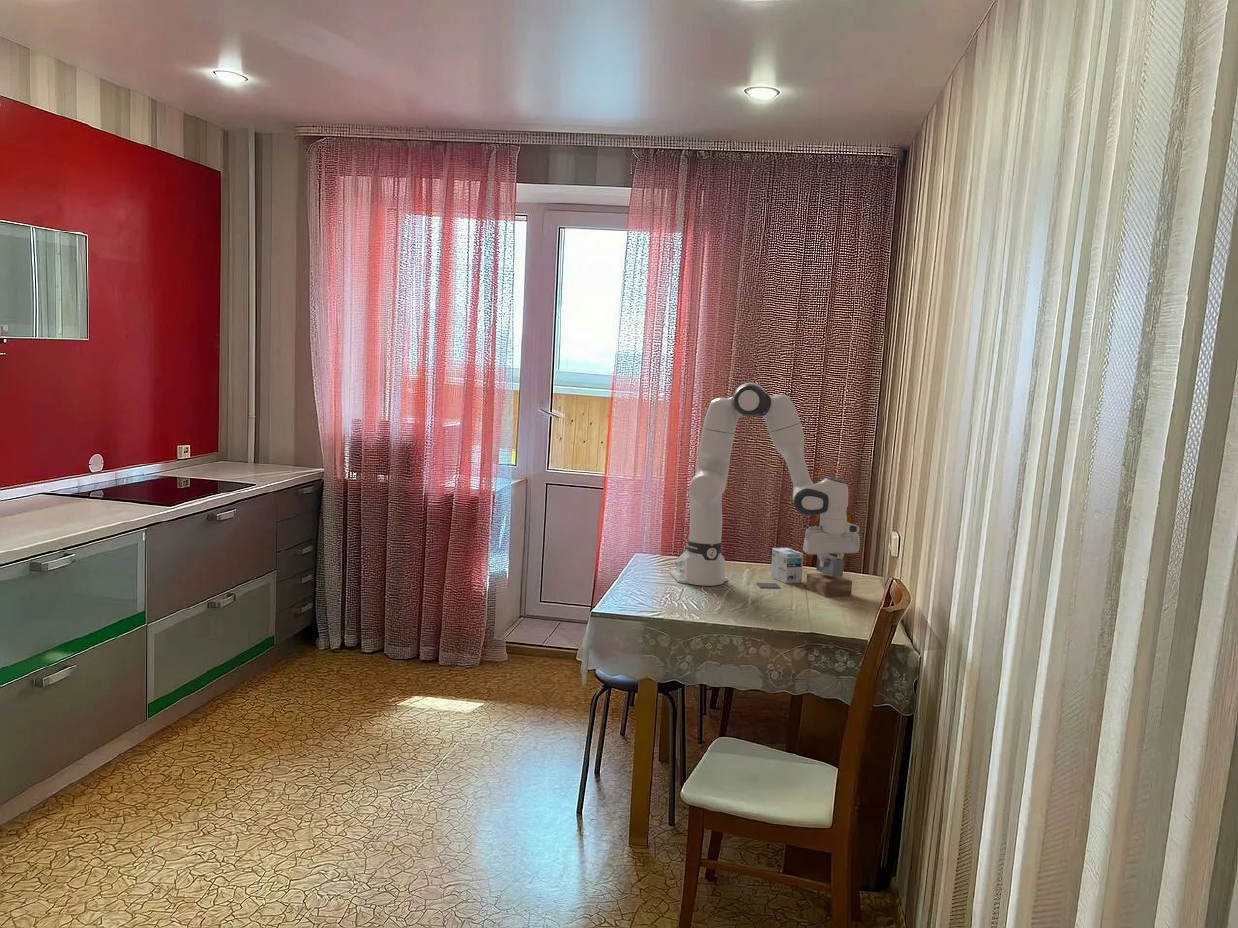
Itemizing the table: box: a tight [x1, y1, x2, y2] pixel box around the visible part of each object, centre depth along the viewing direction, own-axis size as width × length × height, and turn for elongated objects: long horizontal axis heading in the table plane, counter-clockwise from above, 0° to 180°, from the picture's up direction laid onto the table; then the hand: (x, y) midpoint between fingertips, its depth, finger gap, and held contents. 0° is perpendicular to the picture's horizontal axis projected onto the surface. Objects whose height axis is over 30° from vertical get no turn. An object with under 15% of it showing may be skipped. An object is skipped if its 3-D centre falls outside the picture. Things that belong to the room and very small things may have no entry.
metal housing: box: [815, 554, 845, 577], centre depth 314 cm, size 4×10×6 cm, turn 20°
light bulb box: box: [770, 547, 804, 584], centre depth 329 cm, size 11×7×11 cm, turn 22°
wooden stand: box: [805, 572, 853, 598], centre depth 315 cm, size 12×10×5 cm
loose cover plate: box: [755, 582, 781, 589], centre depth 319 cm, size 6×7×1 cm
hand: (829, 566), depth 314 cm, fingers closed on metal housing, 4 cm apart
